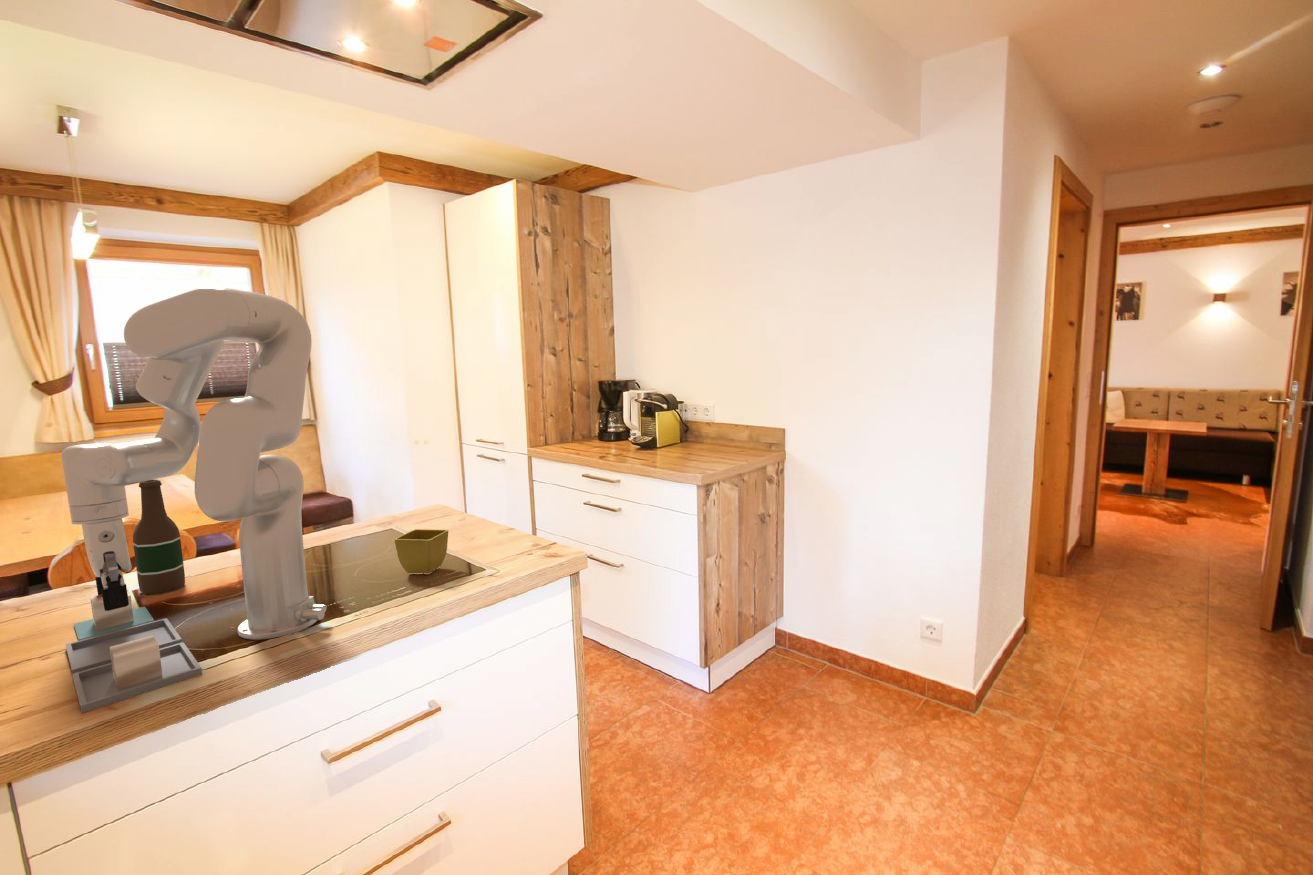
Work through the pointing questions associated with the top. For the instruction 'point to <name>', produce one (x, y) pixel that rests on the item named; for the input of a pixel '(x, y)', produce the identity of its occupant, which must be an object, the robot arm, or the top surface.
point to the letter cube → (110, 613)
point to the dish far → (117, 643)
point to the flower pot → (422, 550)
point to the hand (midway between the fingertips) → (113, 601)
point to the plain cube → (135, 661)
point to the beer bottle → (157, 544)
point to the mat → (89, 630)
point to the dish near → (102, 689)
